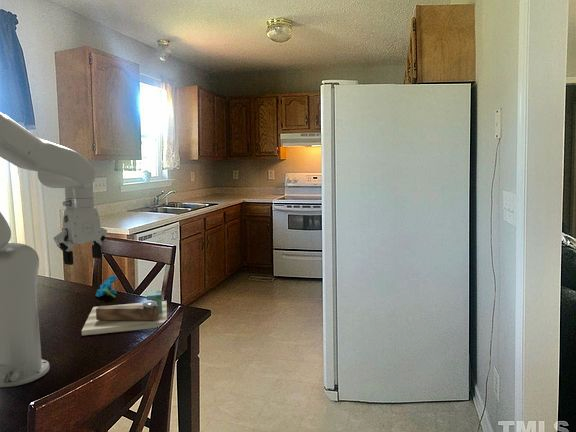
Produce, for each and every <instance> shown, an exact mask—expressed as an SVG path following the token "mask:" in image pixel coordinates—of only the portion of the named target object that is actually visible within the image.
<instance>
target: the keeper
mask: <svg viewBox="0 0 576 432" xmlns="http://www.w3.org/2000/svg"><path fill="white" fill-rule="evenodd" d="M146 292H147V293H146V301H153V300H154V301H155V302H156V304H157V305H158V307H159V313H162V301H163V298H162V295H163V294H162V290H154V291H152V290H151V291H146Z"/></svg>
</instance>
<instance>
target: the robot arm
mask: <svg viewBox="0 0 576 432" xmlns="http://www.w3.org/2000/svg"><path fill="white" fill-rule="evenodd" d="M0 158H2V159H4V160H6V161H7V162H9V163H11V164H12V165H14V166H15V167H17V168H20V169H24V170H29V171H32V172H37V179H38V181H39V182H40V183H41V184H42V185H43V186H45V187H47V188H51V189H64V196H65V197H64V198H65V200H64V201H62V206H63V207H65V209H64V210H63V216H62V230H61V231H60V232H59V233H58V234H57V235H55V236H54V237H53V241H54V242H55V244H56V247H58V248H59V249H60V251H61V252H62V256H63V263H64V265H67V266H72V265H74V253H73V252H74V251H73V250H72V249H73V247H74V246H75V245H80V244H86V243H92V245H91V254H92V255H91V257H92V258H93V259H102V245H103V244H104V241H105V239H106V235H107V232H108V230H107V229H105V228H103V227H102V226H101V221H100V215H99V212H98V208H97V207H95V203H94V202H95V201H94V200H95V199H94V197H95V195H94V185H93V184H94V183H95V180H96V171H95V168H94V166H93V164H92V163H91V162H90V161H89V160H88V159H87V158H86V157H85V156H84V155H82V154H81V153H79V152H77V151H76V150H73V149H70V148H68V147H66V146H63V145H60V144H56V143H54V142H51V141H48V140H45V139H42V138H39V137H38V136H36V135H35V134H33V133H32V132H31V131H29V130H28V129H26V127H24V126H22V125H21V124H19V123H18V122H17V121H15V120H14V119H12V118H11V117H10V116H8V115H7V114H5V113H2V112H1V111H0ZM11 238H12V231H11V227H10V225H9V223H8V221H7V220H6V218H5V217H4V214H2V211H0V388H11V387H17V386H22V385H25V384H28V383H31V382H34V381H36V380H39V379H40V378H42V377H43V376H45V375H46V374H47V373H48V372H49V370H50V362H49V361H48V360H46V359H43V358H42V349H41V337H40V336H41V335H40V321H39V309H38V298H37V297H38V295H37V294H38V293H37V286H38V285H37V282H38V274H39V268H40V259H39V258H40V257H39V254H38V252H37V251H36V250H35V249H34V248H33V247H32V246H30V245H27V244H26V243H25V244H24V243H21V242H20V243H19V242H10V241H11Z"/></svg>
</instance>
